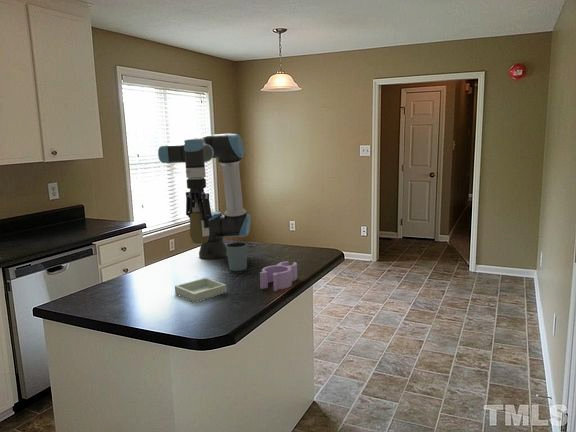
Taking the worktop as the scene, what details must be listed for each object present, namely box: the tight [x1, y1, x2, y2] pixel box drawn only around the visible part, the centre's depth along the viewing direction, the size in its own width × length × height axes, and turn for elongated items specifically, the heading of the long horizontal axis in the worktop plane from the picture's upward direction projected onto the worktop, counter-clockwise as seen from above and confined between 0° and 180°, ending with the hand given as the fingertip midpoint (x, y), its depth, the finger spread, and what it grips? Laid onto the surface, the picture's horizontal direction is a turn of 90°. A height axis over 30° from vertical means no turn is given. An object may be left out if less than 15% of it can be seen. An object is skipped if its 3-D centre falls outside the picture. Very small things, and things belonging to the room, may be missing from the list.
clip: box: [259, 260, 298, 292], centre depth 198 cm, size 20×12×7 cm, turn 150°
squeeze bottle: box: [189, 202, 210, 245], centre depth 186 cm, size 8×8×18 cm
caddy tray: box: [174, 277, 228, 303], centre depth 188 cm, size 15×15×4 cm
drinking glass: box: [225, 241, 248, 272], centre depth 222 cm, size 10×10×12 cm
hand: (199, 234), depth 187 cm, fingers closed on squeeze bottle, 8 cm apart
